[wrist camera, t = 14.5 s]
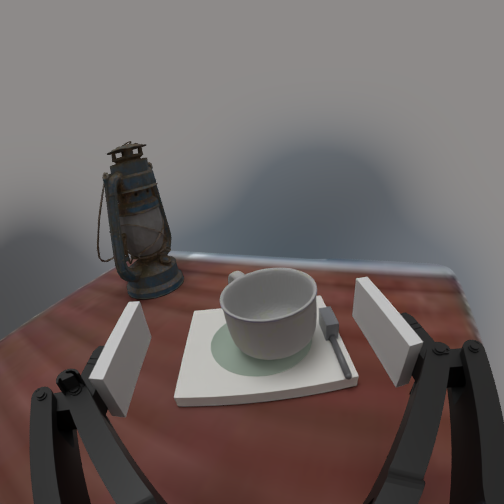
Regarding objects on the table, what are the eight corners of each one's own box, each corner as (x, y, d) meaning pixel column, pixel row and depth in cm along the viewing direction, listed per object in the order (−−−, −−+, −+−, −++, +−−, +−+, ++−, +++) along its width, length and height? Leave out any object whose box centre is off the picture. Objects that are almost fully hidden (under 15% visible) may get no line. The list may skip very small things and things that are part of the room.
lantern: (156, 311, 48) (117, 138, 37) (102, 304, 52) (63, 158, 41) (199, 265, 65) (177, 133, 54) (150, 265, 69) (125, 147, 58)
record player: (177, 408, 27) (166, 386, 26) (196, 319, 44) (191, 298, 43) (357, 388, 27) (362, 363, 26) (320, 304, 44) (320, 282, 43)
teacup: (334, 350, 31) (337, 292, 28) (249, 387, 28) (238, 328, 25) (280, 301, 43) (275, 253, 40) (213, 323, 40) (201, 273, 37)
